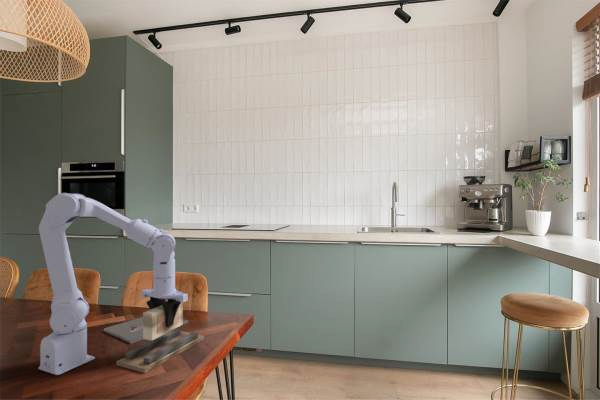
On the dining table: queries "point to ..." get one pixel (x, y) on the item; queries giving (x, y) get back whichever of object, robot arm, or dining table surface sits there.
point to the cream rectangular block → (159, 322)
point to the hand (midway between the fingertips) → (164, 325)
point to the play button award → (129, 330)
